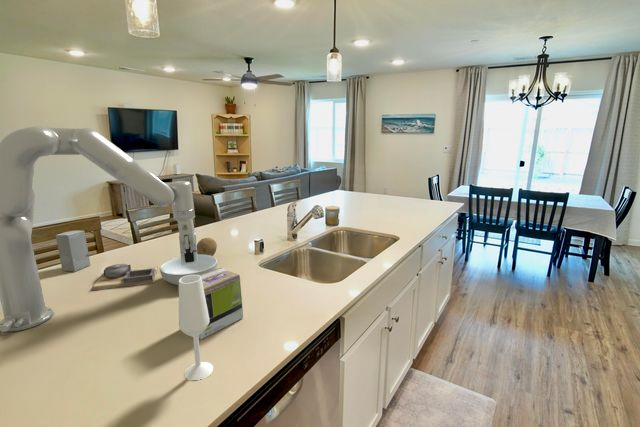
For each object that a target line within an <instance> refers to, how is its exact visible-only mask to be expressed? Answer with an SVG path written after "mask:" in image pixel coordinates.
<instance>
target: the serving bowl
mask: <svg viewBox="0 0 640 427" xmlns="http://www.w3.org/2000/svg"><path fill="white" fill-rule="evenodd" d="M197 257H198V264H194V265H184V266H182V265H181V256H179V257H178V256H177V257H174V258H172V259H170V260H169V259H168V260H167V261H165V262H163V263H162V264H161V265H160V267H159V271H160V275H161V277H162V278H163V279H164V280H165V281H166V282H168V283H169V284H172V285H176V286H178V283H179V279H180V278H182V277H184V276H187V275H202V274H205V273H207V272H210V271H213V270H215V269H217V266H218V259H217V258H216V257H214V255H213V256H210V255H200V254H199V255H198V254H197Z"/></svg>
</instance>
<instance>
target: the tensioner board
mask: <svg viewBox="0 0 640 427" xmlns="http://www.w3.org/2000/svg"><path fill="white" fill-rule="evenodd" d="M157 272H158V266H152V267H151V266H150V267H143V268H142V267H141V268H135V269H132V267H131V264H127V263H117V264H116V263H115V264H112V265H109V266H107V267H105V268H104V270H103V272H102V274H101V275H100V276H99V278H98V279H97V281H96V282H95V283H94V285H93V286H92V291H98V290H108V289H115V288H123V287H124V288H125V287H132V286H137V285H147V284H153V283H154V282H155V279H156V276H157Z"/></svg>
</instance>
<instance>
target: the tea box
mask: <svg viewBox="0 0 640 427" xmlns="http://www.w3.org/2000/svg"><path fill="white" fill-rule="evenodd" d="M199 276H201V278H202V283H203V289H204V294H205V299H206V304H207V309H208V314H209V324H208V326H207V328H206V329H205V330H204V331H203V332H202V333H201V334H200V335H199V336H198V338H199V339H200V340H203V339H204V338H207V337H208V336H210V335H212V334H214V333H216V332H218V331H220V330H222V329H223V328H225V327H227V326H230V325H231V324H233V323H235V322H237V321H239V320H241V319H243V318H244V310H243V297H242V288H241V278H240V277H241V276H240V274H238V273H235V272H233V271H230V270H227V269H225V268H223V267H219V268H216V269H215V270H213V271H210V272H207V273H205V274H202V275H199ZM177 291H178V294H179V283H178V285H177Z"/></svg>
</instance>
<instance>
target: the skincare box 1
mask: <svg viewBox="0 0 640 427" xmlns="http://www.w3.org/2000/svg"><path fill="white" fill-rule="evenodd" d="M86 238H87V237H86V232H85V230H70V231H64V232H62V233H59V234H55V240H56V244H57V245H56V246H57V249H58V254H59V260H60V266H61V269H62V270H61V271H62V272H63V271H64V272H73V273H76V272H77V271H81V270H83V269H84V268H87V267H90V266H91V261H90V260H91V259H90V254H89V250H88V244H87V239H86Z"/></svg>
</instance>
